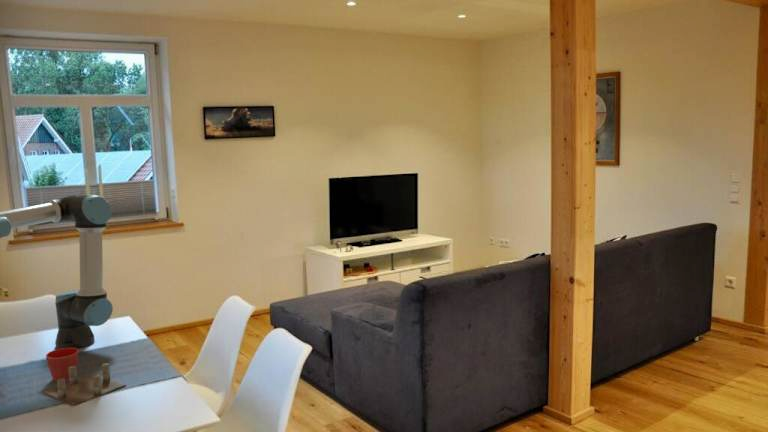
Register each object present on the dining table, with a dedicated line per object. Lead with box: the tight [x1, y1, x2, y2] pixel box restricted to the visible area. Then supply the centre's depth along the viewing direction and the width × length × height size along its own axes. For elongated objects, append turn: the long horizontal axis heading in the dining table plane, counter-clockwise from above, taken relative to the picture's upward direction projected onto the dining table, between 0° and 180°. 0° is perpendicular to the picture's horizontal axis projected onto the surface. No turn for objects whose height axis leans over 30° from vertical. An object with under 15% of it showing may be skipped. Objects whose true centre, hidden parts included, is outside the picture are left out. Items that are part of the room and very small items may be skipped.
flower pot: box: [45, 348, 79, 382], centre depth 228 cm, size 11×11×10 cm
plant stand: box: [44, 363, 127, 407], centre depth 216 cm, size 19×19×7 cm
